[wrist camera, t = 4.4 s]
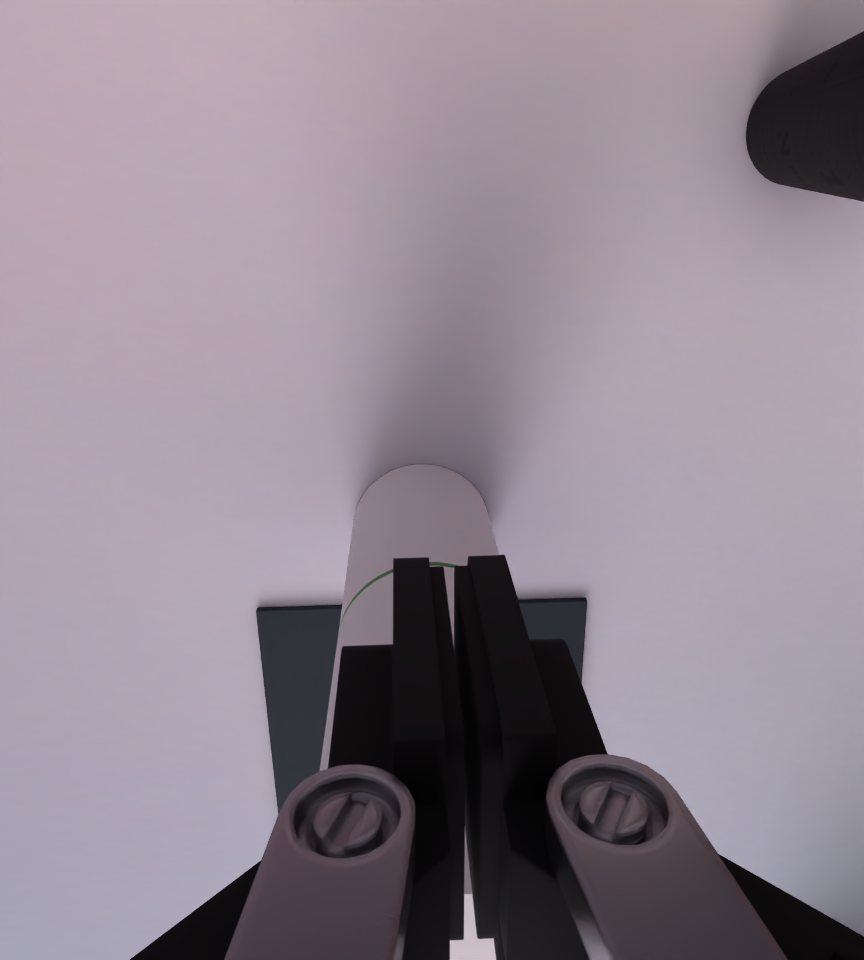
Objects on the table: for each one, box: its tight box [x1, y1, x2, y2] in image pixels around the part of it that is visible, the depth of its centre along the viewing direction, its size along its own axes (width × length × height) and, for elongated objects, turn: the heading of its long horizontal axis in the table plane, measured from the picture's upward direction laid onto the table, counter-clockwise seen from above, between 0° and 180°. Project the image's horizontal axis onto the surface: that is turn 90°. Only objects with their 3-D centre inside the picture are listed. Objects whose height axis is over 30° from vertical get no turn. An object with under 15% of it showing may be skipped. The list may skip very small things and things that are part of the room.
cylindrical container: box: [320, 464, 499, 960], centre depth 28 cm, size 7×7×25 cm
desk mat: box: [256, 598, 587, 815], centre depth 45 cm, size 18×20×1 cm
